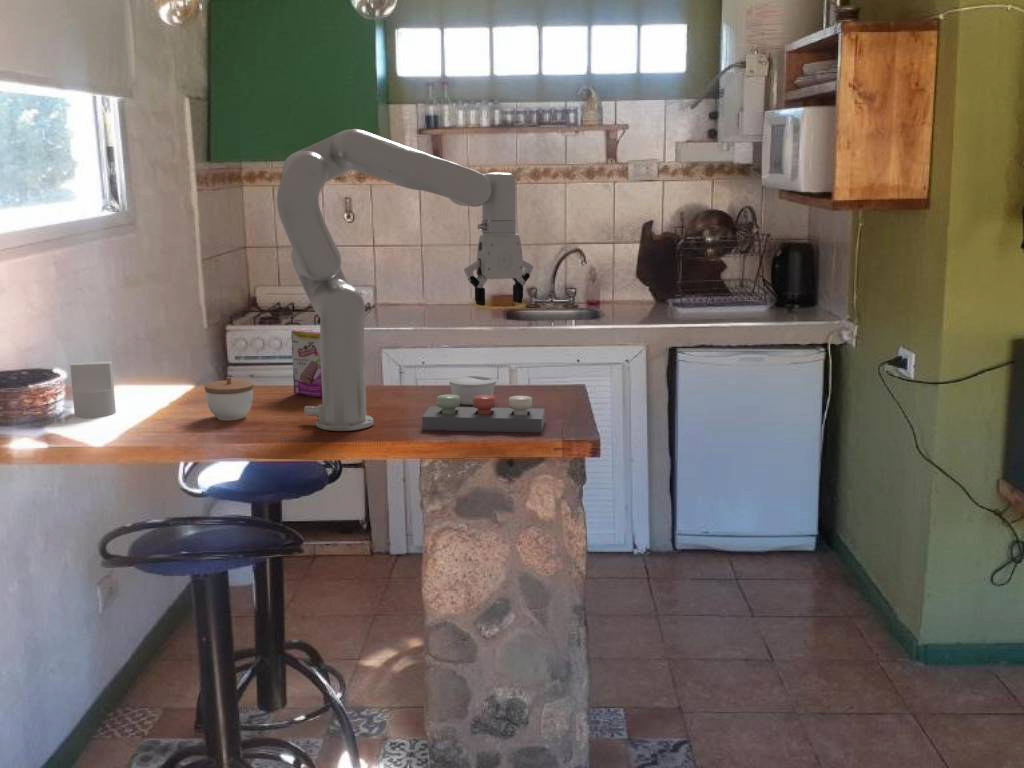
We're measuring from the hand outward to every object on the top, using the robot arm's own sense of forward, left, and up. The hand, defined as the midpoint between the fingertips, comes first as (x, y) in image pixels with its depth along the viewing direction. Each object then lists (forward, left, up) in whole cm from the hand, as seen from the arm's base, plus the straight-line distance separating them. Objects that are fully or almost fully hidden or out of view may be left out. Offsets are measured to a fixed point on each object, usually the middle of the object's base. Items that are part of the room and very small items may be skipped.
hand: (499, 303), depth 245 cm
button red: (-2, -14, -24) cm, 28 cm away
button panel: (-2, -14, -25) cm, 29 cm away
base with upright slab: (-94, -10, -26) cm, 98 cm away
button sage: (-10, -14, -24) cm, 29 cm away
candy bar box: (-48, +14, -26) cm, 56 cm away
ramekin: (-8, +11, -26) cm, 29 cm away
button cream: (+6, -14, -24) cm, 28 cm away
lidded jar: (-61, -11, -26) cm, 67 cm away
